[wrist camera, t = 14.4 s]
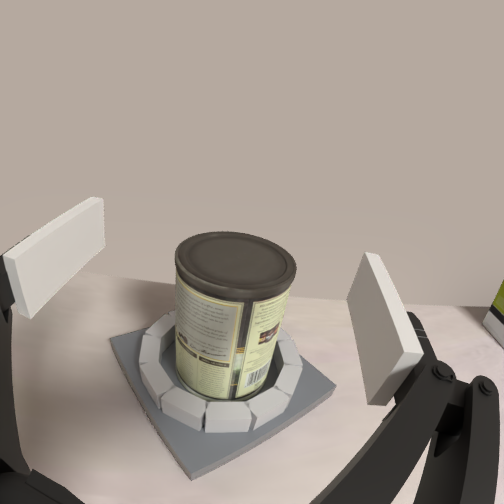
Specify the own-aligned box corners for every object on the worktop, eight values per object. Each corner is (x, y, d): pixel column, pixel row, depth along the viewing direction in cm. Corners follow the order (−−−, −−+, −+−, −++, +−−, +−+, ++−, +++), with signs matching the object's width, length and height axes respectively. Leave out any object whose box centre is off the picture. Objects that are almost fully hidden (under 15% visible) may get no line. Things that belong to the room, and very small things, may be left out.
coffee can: (197, 326, 38) (206, 222, 31) (276, 352, 36) (304, 247, 29) (157, 382, 29) (150, 264, 22) (251, 418, 27) (283, 306, 20)
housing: (112, 349, 34) (107, 322, 32) (236, 310, 45) (240, 285, 43) (191, 480, 21) (190, 463, 19) (331, 395, 33) (344, 371, 31)
